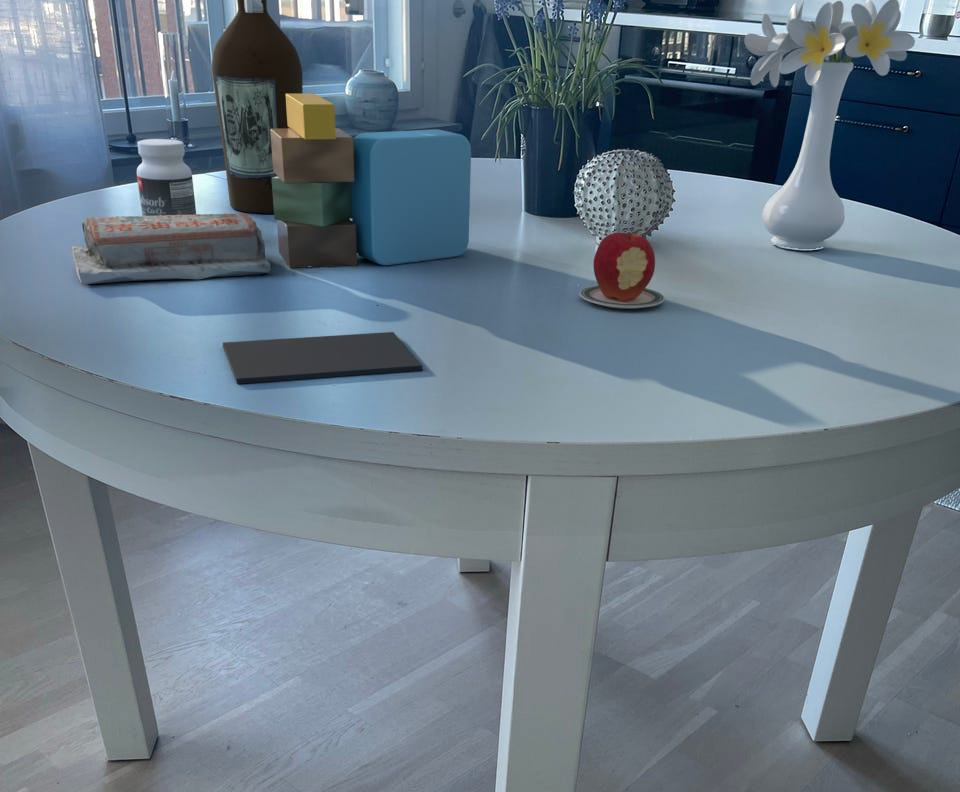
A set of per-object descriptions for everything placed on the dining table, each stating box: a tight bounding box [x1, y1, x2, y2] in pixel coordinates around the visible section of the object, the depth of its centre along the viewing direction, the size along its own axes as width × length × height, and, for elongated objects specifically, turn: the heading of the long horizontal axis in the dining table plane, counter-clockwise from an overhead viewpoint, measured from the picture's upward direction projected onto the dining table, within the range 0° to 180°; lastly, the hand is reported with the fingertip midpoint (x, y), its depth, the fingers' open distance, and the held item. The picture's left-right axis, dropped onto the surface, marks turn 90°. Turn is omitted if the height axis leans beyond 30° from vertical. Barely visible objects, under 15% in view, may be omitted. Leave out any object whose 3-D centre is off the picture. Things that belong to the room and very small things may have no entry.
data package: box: [351, 128, 472, 267], centre depth 106 cm, size 12×4×12 cm, turn 125°
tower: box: [270, 127, 358, 269], centre depth 104 cm, size 8×8×12 cm
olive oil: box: [211, 0, 304, 215], centre depth 123 cm, size 11×11×25 cm
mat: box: [222, 331, 423, 385], centre depth 79 cm, size 14×9×1 cm, turn 108°
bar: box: [286, 93, 336, 140], centre depth 100 cm, size 3×10×3 cm, turn 18°
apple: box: [579, 228, 665, 310], centre depth 95 cm, size 8×8×6 cm
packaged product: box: [71, 212, 271, 285], centre depth 100 cm, size 18×5×10 cm
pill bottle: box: [136, 138, 197, 216], centre depth 109 cm, size 6×6×10 cm
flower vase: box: [743, 0, 916, 249], centre depth 113 cm, size 13×18×25 cm
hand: (305, 13), depth 95 cm, fingers open, 8 cm apart
